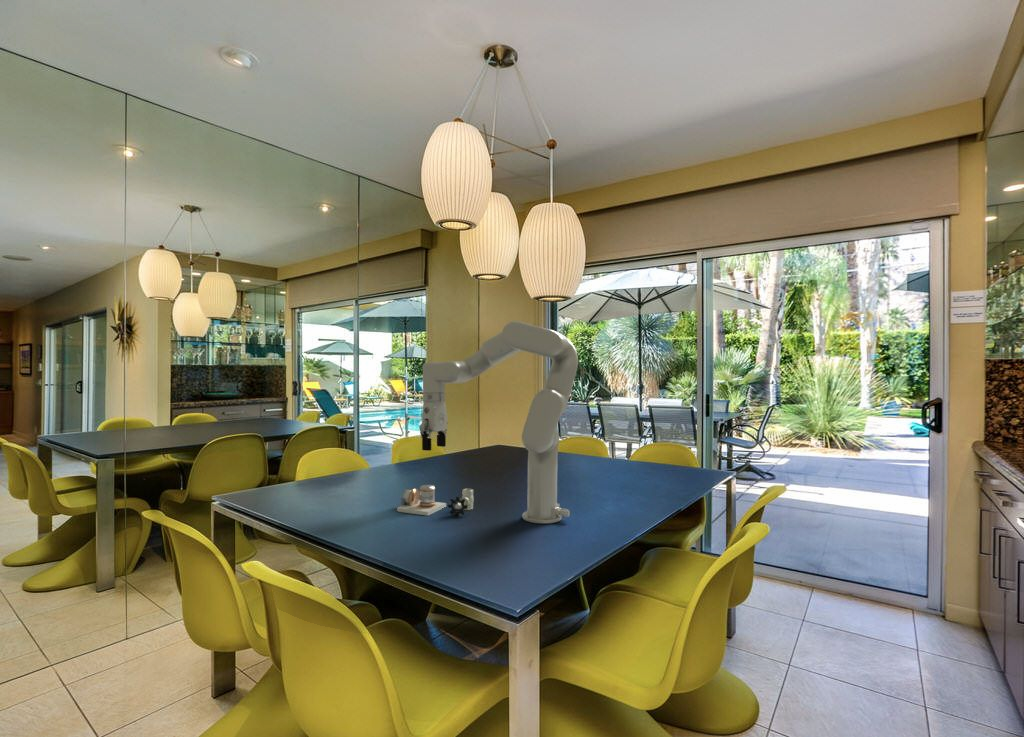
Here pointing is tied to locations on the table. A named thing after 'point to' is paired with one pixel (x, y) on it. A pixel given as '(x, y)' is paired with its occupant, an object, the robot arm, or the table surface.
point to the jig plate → (421, 508)
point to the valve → (462, 502)
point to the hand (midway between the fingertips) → (434, 448)
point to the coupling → (427, 495)
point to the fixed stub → (410, 497)
